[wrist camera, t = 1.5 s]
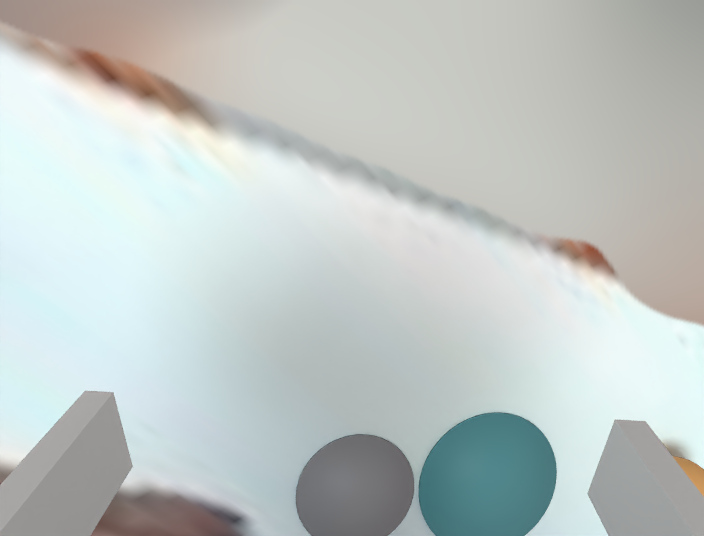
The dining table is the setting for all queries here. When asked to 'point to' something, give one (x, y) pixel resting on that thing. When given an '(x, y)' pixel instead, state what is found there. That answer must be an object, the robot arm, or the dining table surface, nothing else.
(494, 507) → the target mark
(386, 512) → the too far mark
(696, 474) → the ball
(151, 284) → the dining table surface
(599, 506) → the robot arm
